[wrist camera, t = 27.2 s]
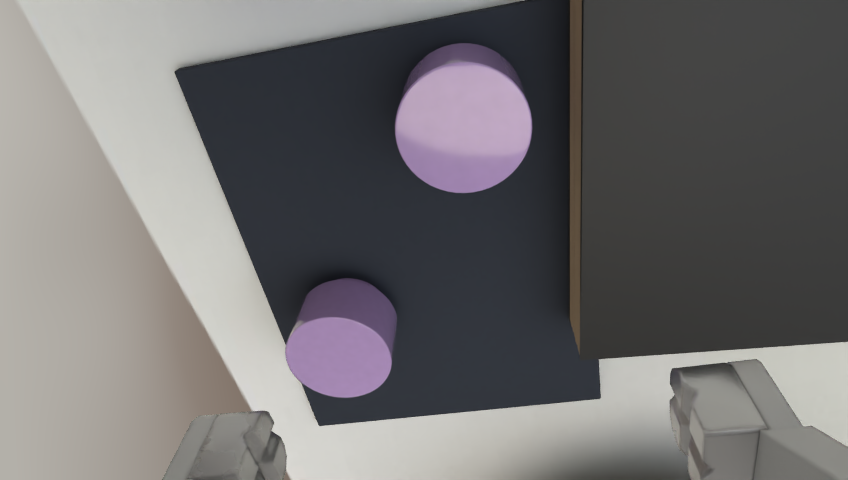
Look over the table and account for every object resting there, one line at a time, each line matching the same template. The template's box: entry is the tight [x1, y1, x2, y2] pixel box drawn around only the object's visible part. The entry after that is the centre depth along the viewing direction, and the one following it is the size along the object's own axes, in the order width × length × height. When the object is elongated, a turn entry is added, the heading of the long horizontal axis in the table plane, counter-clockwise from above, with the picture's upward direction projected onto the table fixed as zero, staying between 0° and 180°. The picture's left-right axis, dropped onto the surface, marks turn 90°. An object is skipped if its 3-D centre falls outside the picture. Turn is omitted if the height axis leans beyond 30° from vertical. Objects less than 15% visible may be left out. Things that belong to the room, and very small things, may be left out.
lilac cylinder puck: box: [395, 43, 532, 193], centre depth 27 cm, size 6×6×5 cm
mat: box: [175, 0, 601, 426], centre depth 35 cm, size 20×26×1 cm
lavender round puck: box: [285, 278, 397, 398], centre depth 35 cm, size 6×6×5 cm
